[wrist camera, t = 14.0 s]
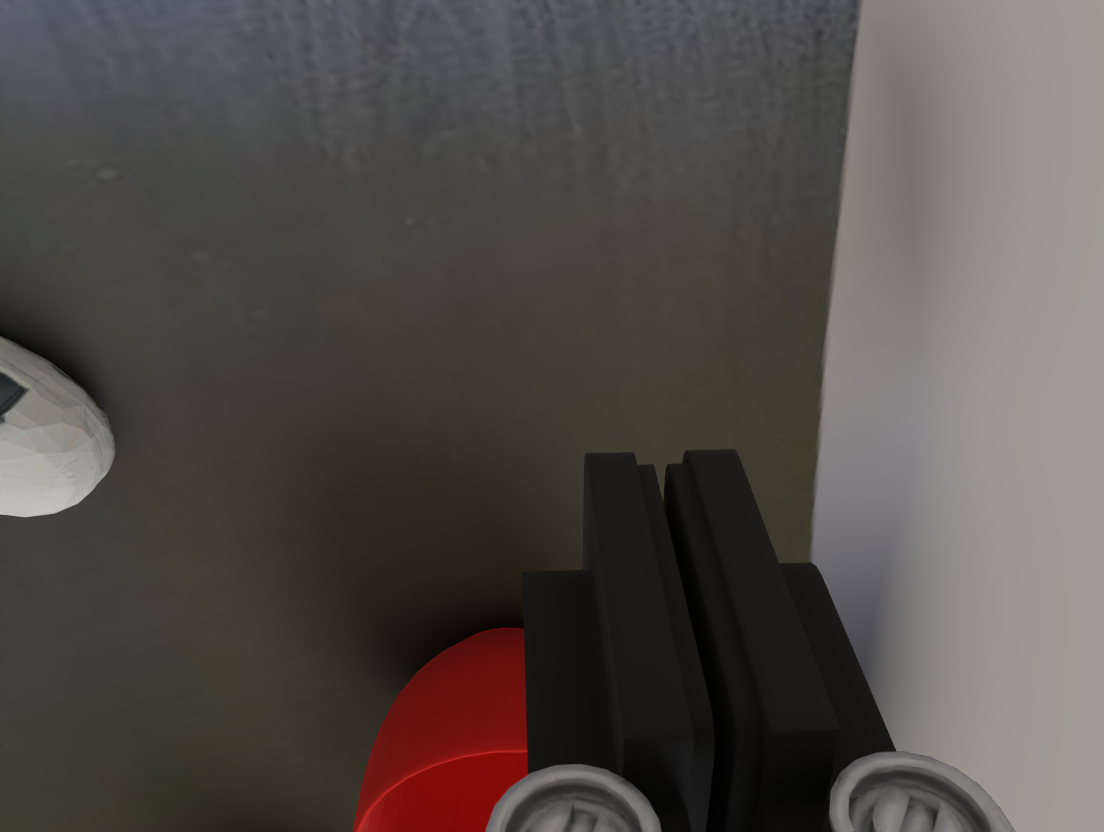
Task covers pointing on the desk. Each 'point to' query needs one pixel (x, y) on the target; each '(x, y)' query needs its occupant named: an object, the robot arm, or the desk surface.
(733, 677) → the robot arm
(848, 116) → the desk surface
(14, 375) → the sneaker
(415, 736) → the ceramic cup
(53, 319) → the desk surface
